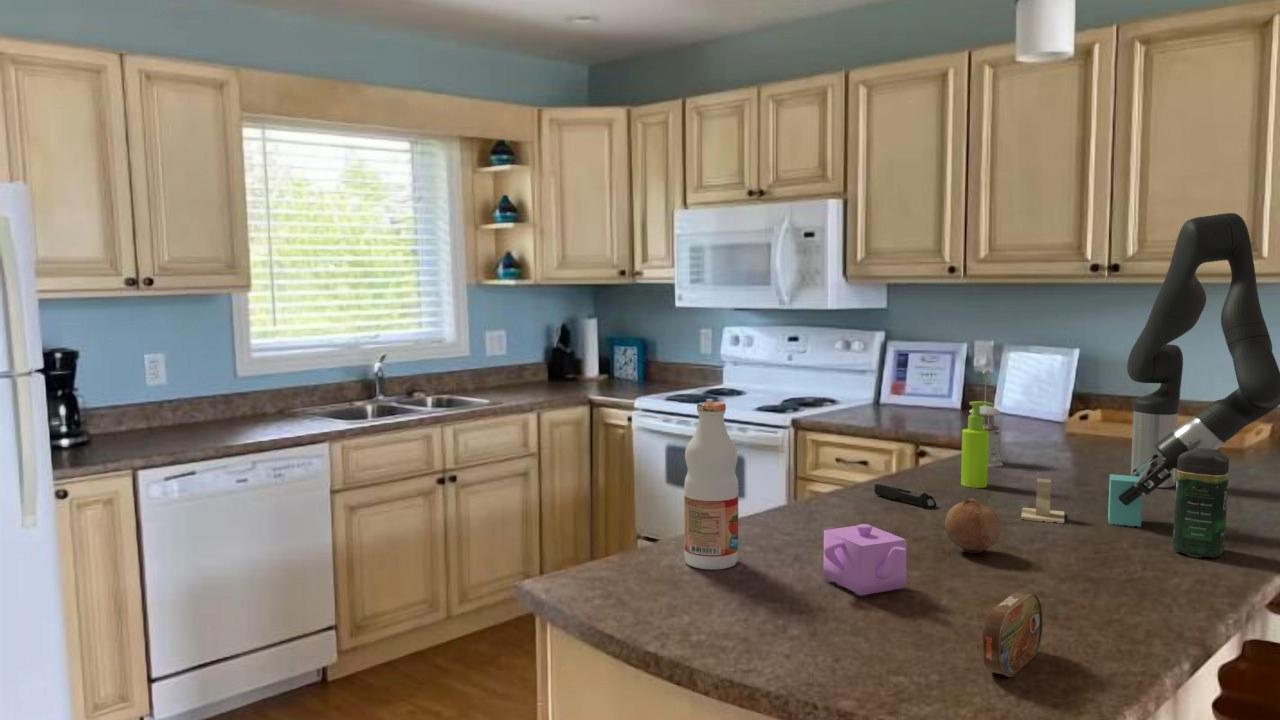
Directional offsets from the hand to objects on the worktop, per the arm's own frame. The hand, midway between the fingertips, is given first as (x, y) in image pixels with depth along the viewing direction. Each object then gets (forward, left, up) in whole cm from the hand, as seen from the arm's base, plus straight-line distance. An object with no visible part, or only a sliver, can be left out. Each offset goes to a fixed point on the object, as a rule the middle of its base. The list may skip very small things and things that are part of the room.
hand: (1120, 497), depth 186 cm
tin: (+82, -16, -5) cm, 84 cm away
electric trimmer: (0, -42, -6) cm, 43 cm away
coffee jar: (+17, +12, -5) cm, 21 cm away
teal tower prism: (0, +1, -5) cm, 5 cm away
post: (+2, -14, -5) cm, 15 cm away
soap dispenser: (-23, -29, -5) cm, 38 cm away
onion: (+34, -25, -5) cm, 43 cm away
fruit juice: (+58, -66, -5) cm, 88 cm away
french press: (-53, -30, -5) cm, 61 cm away
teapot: (+61, -39, -5) cm, 73 cm away
